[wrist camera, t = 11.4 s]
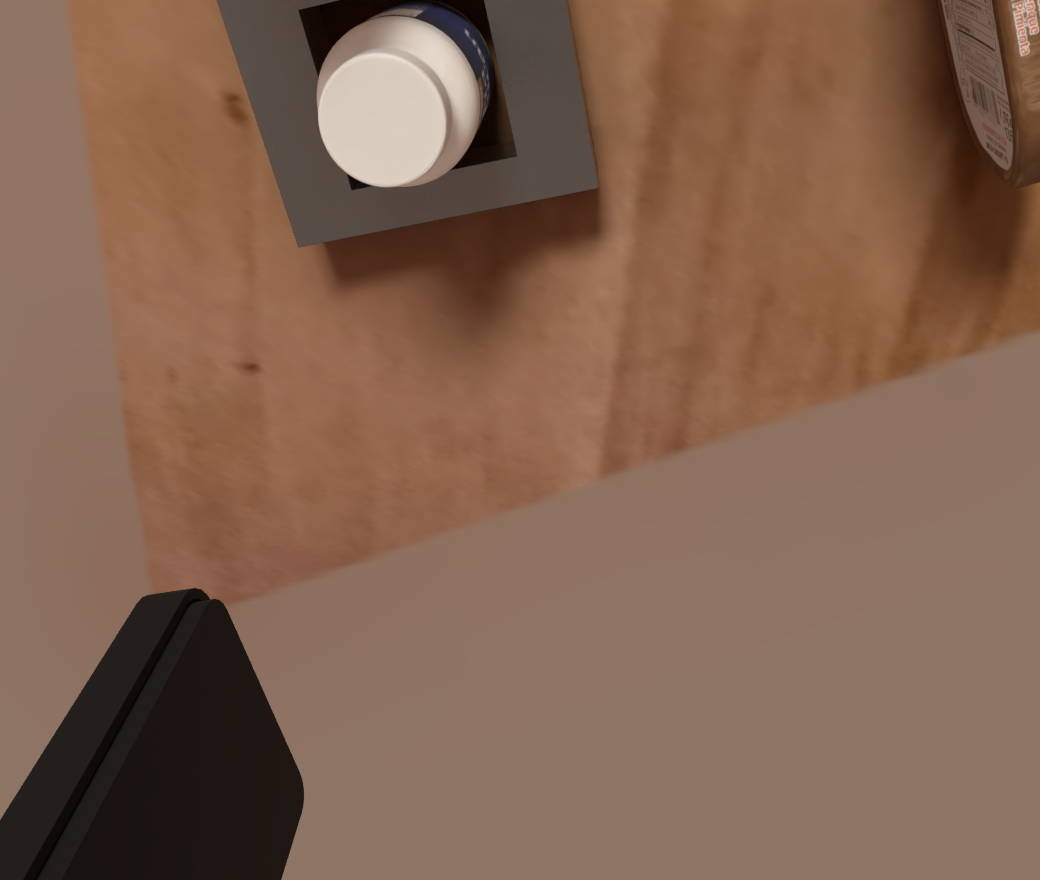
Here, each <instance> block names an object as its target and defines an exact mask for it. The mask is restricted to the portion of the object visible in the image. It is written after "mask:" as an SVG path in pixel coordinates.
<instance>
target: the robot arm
mask: <svg viewBox="0 0 1040 880" xmlns="http://www.w3.org/2000/svg"><path fill="white" fill-rule="evenodd" d="M303 802H304V788H303V782H302V778H301V775H300V772H299V770H298V768H297V765H296V763H295V761H294V759H293V756H292V754H291V752H290V750H289V747H288V745H287V743H286V741H285V738H284V737H283V734H282V732H281V729H280V727H279V725H278V723H277V721H276V718H275V716H274V714H273V712H272V709H271V707H270V705H269V703H268V700H267V698H266V696H265V694H264V692H263V689H262V687H261V685H260V683H259V680H258V678H257V676H256V674H255V672H254V670H253V667H252V665H251V662H250V660H249V658H248V656H247V653H246V651H245V649H244V647H243V644H242V642H241V640H240V638H239V636H238V633H237V631H236V629H235V627H234V624H233V622H232V620H231V618H230V615H229V613H228V611H227V609H226V607H225V606H224V604H223V603H222V602H221V601H220V600H216V599H212V600H210V599H209V597H208V595H207V594H206V593H204V592H203V591H202V590H201V589H197V588H193V589H186V590H179V591H172V592H165V593H158V594H151V595H147V596H145V597H142V598H141V599H140V601H139V602H138V603H137V604H136V606H135V607H134V609H133V610H132V612H131V614H130V615H129V617H128V618H127V620H126V621H125V623H124V625H123V626H122V628H121V629H120V631H119V633H118V634H117V636H116V637H115V639H114V640H113V642H112V644H111V645H110V647H109V648H108V650H107V652H106V653H105V655H104V657H103V658H102V660H101V661H100V663H99V664H98V666H97V667H96V669H95V671H94V672H93V674H92V675H91V677H90V679H89V680H88V682H87V683H86V685H85V687H84V688H83V690H82V691H81V693H80V694H79V696H78V698H77V699H76V701H75V702H74V704H73V706H72V707H71V709H70V710H69V712H68V714H67V715H66V717H65V718H64V720H63V721H62V723H61V725H60V726H59V728H58V729H57V731H56V732H55V734H54V736H53V737H52V739H51V741H50V742H49V744H48V745H47V747H46V748H45V750H44V752H43V753H42V755H41V756H40V758H39V759H38V761H37V763H36V764H35V766H34V767H33V769H32V771H31V773H30V774H29V776H28V777H27V779H26V780H25V782H24V783H23V785H22V786H21V788H20V790H19V791H18V793H17V794H16V796H15V798H14V799H13V801H12V802H11V804H10V805H9V807H8V809H7V810H6V812H5V813H4V815H3V817H2V818H1V820H0V880H281V878H282V875H283V872H284V869H285V865H286V862H287V859H288V856H289V852H290V849H291V846H292V843H293V839H294V836H295V833H296V830H297V826H298V823H299V820H300V817H301V813H302V809H303Z"/></svg>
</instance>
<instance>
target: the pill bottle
mask: <svg viewBox="0 0 1040 880" xmlns="http://www.w3.org/2000/svg"><path fill="white" fill-rule="evenodd" d="M493 82H494V71H493V63H492V58H491V54H490V51H489V49H488V46H487V44H486V42H485V40H484V38H483V36H482V35H481V33H480V31H479V30H478V29H477V27H476V26H475V25H474V24H473V23H472V22H471V21H470V20H469V19H468V18H467V17H466V16H465V15H464V14H462V13H461V12H460V11H458V10H456V9H455V8H453V7H451V6H449V5H447V4H444V3H441V2H437V1H432V0H411V1H406V2H402V3H399V4H397V5H394V6H392V7H390V8H388V9H386V10H384V11H382V12H381V13H379V14H377V15H375V16H373V17H372V18H370V19H368V20H367V21H365V22H362V23H360V24H359V25H357V26H356V27H354V28H352V29H351V30H350V31H348V32H347V33H346V34H345V35H343V36H342V37H341V38H340V39H339V40H338V41H337V42H336V44H335V45H334V46H333V47H332V49H331V50H330V52H329V53H328V55H327V57H326V59H325V61H324V63H323V65H322V68H321V71H320V74H319V79H318V84H317V108H318V123H319V129H320V134H321V137H322V140H323V143H324V145H325V147H326V149H327V151H328V153H329V154H330V156H331V157H332V159H333V160H334V161H335V162H336V164H337V165H338V166H339V167H340V168H341V169H342V170H344V171H345V172H346V173H347V174H349V175H350V176H351V177H353V178H355V179H357V180H358V181H361V182H363V183H366V184H369V185H372V186H377V187H409V186H416V185H421V184H425V183H428V182H430V181H433V180H435V179H437V178H439V177H440V176H442V175H444V174H445V173H447V172H448V171H449V170H450V169H452V168H453V167H454V166H455V165H456V164H457V163H458V161H459V160H460V159H461V158H462V157H463V155H464V154H465V153H466V151H467V149H468V148H469V146H470V144H471V142H472V140H473V139H474V136H475V134H476V132H477V130H478V128H479V126H480V124H481V122H482V119H483V117H484V114H485V112H486V110H487V108H488V105H489V103H490V100H491V96H492V91H493Z"/></svg>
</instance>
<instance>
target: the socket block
mask: <svg viewBox="0 0 1040 880" xmlns="http://www.w3.org/2000/svg"><path fill="white" fill-rule="evenodd" d="M334 1H338V0H217V3H218V6H219V9H220V12H221V15H222V18H223V21H224V24H225V27H226V30H227V33H228V36H229V39H230V42H231V45H232V48H233V51H234V54H235V57H236V60H237V63H238V66H239V69H240V72H241V75H242V78H243V81H244V85H245V88H246V91H247V94H248V97H249V100H250V103H251V106H252V109H253V112H254V115H255V118H256V121H257V124H258V127H259V130H260V133H261V136H262V139H263V142H264V145H265V148H266V151H267V154H268V157H269V160H270V163H271V166H272V169H273V172H274V175H275V178H276V181H277V184H278V187H279V190H280V193H281V196H282V199H283V202H284V205H285V208H286V211H287V214H288V217H289V220H290V224H291V227H292V230H293V233H294V236H295V239H296V242H297V245H298V247H303V246H308V245H313V244H318V243H323V242H328V241H333V240H338V239H343V238H349V237H354V236H359V235H364V234H369V233H374V232H379V231H384V230H389V229H394V228H399V227H404V226H409V225H414V224H419V223H424V222H429V221H434V220H440V219H445V218H450V217H455V216H460V215H465V214H470V213H475V212H480V211H485V210H490V209H495V208H500V207H505V206H510V205H515V204H520V203H526V202H531V201H536V200H541V199H546V198H551V197H556V196H561V195H566V194H571V193H576V192H581V191H586V190H591V189H596V188H598V170H597V163H596V158H595V152H594V146H593V140H592V135H591V129H590V123H589V118H588V112H587V106H586V101H585V95H584V89H583V83H582V78H581V72H580V66H579V61H578V55H577V49H576V44H575V38H574V32H573V26H572V21H571V15H570V9H569V4H568V0H484V2H485V7H486V11H487V16H488V21H489V25H490V30H491V35H492V40H493V44H494V49H495V54H496V58H497V63H498V68H499V72H500V77H501V82H502V87H503V91H504V96H505V101H506V105H507V110H508V115H509V120H510V124H511V129H512V134H513V138H514V141H510V142H505V143H500V144H495V145H490V146H486V147H481V148H476V149H471V150H467V151H466V153H465V154H464V155H463V157H462V158H461V159H460V160H459V161H458V163H457V164H456V165H455V166H454V167H453V168H452V169H450V170H449V171H448V172H447V173H445V174H444V175H442V176H440V177H439V178H437V179H435V180H433V181H430V182H428V183H425V184H421V185H416V186H409V187H377V186H372V185H369V184H366V183H363V182H361V181H358V180H357V179H355V178H353V177H351V176H350V175H349V174H347V173H346V172H345V171H344V170H342V169H341V168H340V167H339V166H338V165H337V164H336V162H335V161H334V160H333V159H332V157H331V156H330V154H329V153H328V151H327V149H326V147H325V145H324V143H323V140H322V137H321V134H320V129H319V123H318V108H317V84H318V79H319V74H320V71H321V68H322V65H323V63H324V61H325V59H326V57H327V55H328V53H329V52H330V50H331V49H332V48H331V44H330V41H329V37H328V34H327V30H326V27H325V23H324V20H323V16H322V13H321V9H320V6H319V5H321V4H325V3H330V2H334Z"/></svg>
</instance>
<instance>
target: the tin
mask: <svg viewBox="0 0 1040 880" xmlns="http://www.w3.org/2000/svg"><path fill="white" fill-rule="evenodd" d="M937 1H938V6H939V11H940V16H941V22H942V27H943V32H944V37H945V42H946V47H947V53H948V58H949V63H950V67H951V71H952V75H953V79H954V83H955V87H956V91H957V95H958V98H959V102H960V105H961V109H962V112H963V115H964V118H965V121H966V124H967V127H968V129H969V132H970V134H971V137H972V139H973V141H974V144H975V146H976V148H977V150H978V152H979V154H980V155H981V157H982V158H983V159H984V161H985V162H986V163H987V164H988V165H989V166H990V167H992V168H993V169H994V171H995V172H996V173H997V174H998V175H999V177H1000V178H1001V179H1002V180H1003V181H1004V182H1005V183H1007V184H1008V185H1010V187H1012V188H1019V187H1024V186H1028V185H1031V184H1035V183H1038V182H1040V0H937Z"/></svg>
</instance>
